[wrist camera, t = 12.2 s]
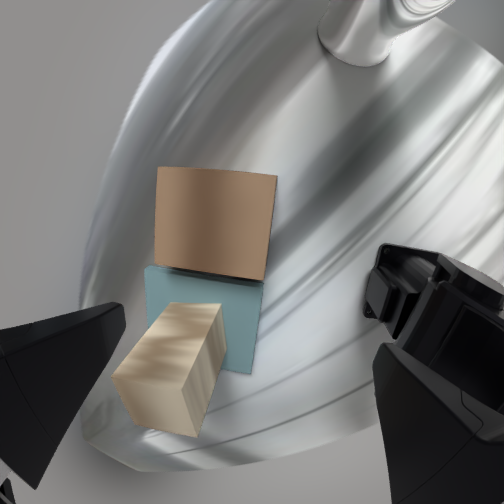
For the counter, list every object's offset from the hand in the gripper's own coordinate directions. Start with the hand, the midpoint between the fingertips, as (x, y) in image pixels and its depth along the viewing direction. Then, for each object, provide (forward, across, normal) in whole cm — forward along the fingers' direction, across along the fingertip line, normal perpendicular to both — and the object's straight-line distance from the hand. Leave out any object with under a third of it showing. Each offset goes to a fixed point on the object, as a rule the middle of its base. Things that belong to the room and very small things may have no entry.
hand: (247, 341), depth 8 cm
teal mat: (+13, +5, +8) cm, 16 cm away
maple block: (+12, +5, +8) cm, 15 cm away
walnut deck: (+13, +4, -2) cm, 14 cm away
